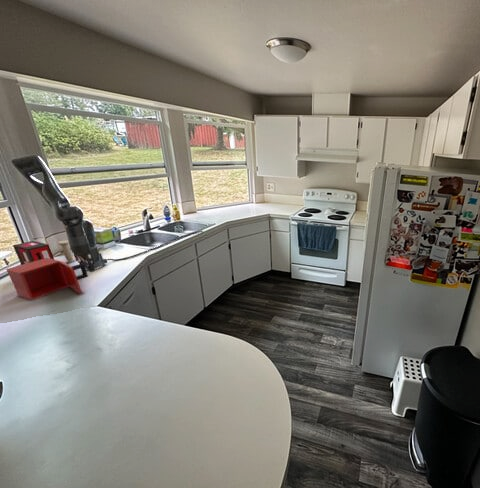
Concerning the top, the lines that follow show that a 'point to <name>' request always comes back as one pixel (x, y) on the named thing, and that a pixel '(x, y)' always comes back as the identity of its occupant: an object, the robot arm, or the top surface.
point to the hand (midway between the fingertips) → (88, 269)
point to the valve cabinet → (38, 278)
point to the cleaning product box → (32, 251)
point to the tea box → (104, 237)
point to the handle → (66, 251)
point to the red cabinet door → (73, 275)
